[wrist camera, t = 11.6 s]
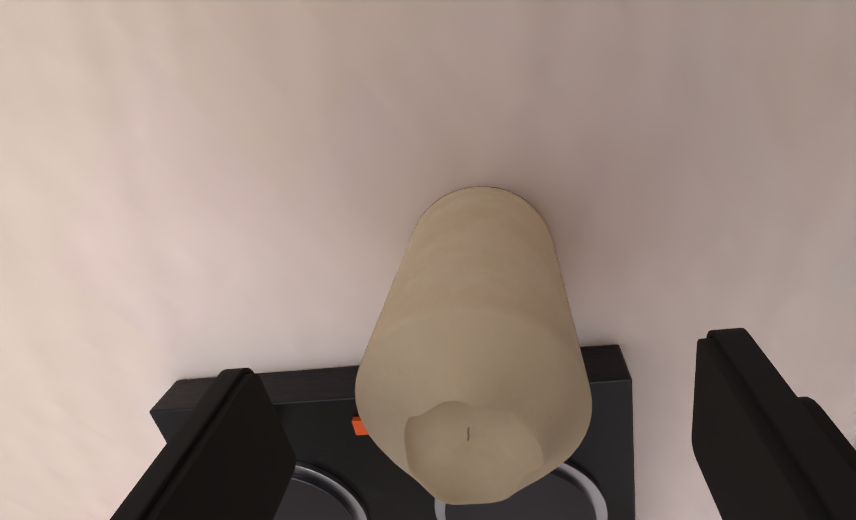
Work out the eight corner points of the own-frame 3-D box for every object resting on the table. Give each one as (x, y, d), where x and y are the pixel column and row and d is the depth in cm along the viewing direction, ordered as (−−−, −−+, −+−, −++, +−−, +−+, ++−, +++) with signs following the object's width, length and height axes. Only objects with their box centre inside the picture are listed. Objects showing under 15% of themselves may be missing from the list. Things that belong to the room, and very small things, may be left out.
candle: (405, 185, 18) (316, 346, 9) (556, 182, 17) (620, 354, 8) (416, 311, 20) (354, 535, 12) (549, 313, 20) (593, 555, 11)
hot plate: (176, 379, 24) (130, 431, 21) (618, 343, 20) (640, 401, 17) (258, 536, 29) (230, 596, 26) (626, 534, 25) (644, 605, 22)
